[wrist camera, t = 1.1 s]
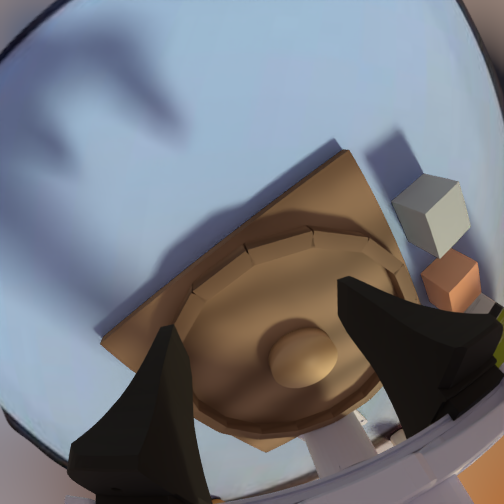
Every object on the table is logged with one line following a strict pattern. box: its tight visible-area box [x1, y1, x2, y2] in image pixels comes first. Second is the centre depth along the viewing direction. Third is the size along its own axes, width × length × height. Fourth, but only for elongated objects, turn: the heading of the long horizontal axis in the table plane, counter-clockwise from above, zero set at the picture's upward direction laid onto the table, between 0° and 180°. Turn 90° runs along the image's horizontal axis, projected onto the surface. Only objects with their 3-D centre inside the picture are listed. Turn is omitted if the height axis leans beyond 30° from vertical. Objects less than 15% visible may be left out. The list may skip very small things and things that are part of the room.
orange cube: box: [421, 248, 481, 313], centre depth 24 cm, size 5×5×5 cm
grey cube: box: [391, 174, 471, 259], centre depth 21 cm, size 5×5×5 cm
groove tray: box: [100, 150, 421, 452], centre depth 24 cm, size 25×25×2 cm
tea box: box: [464, 293, 504, 368], centre depth 26 cm, size 15×10×15 cm, turn 53°
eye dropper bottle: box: [390, 429, 407, 446], centre depth 33 cm, size 4×6×12 cm
